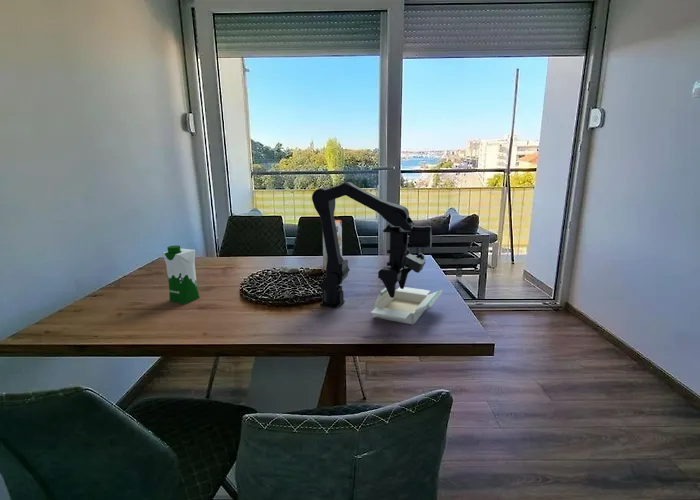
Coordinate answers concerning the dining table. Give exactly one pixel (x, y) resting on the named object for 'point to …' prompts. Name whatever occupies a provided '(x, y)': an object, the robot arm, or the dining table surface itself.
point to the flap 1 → (382, 295)
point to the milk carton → (181, 274)
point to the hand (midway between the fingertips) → (397, 292)
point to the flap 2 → (428, 301)
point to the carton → (401, 305)
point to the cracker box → (339, 234)
